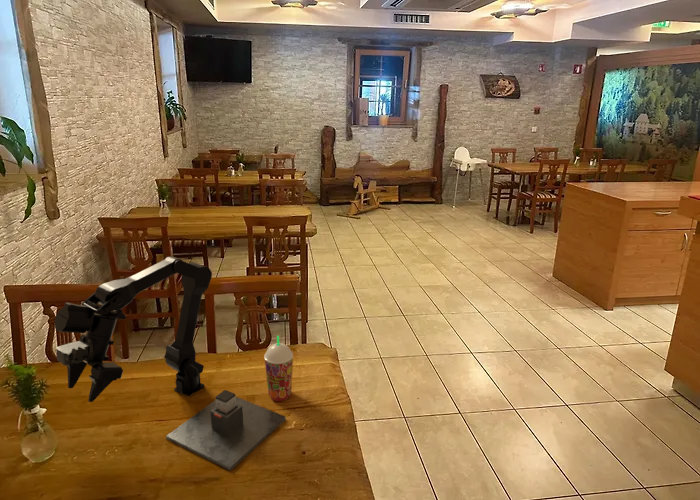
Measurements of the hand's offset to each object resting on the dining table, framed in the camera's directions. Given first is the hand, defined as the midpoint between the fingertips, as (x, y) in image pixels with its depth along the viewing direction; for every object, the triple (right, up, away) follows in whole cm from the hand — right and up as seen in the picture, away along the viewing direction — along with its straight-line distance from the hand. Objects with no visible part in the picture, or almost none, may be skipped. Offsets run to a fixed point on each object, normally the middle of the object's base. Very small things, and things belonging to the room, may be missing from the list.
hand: (80, 394), depth 119 cm
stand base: (+34, -12, +10) cm, 38 cm away
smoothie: (+46, -8, +24) cm, 53 cm away
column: (+34, -11, +9) cm, 37 cm away
